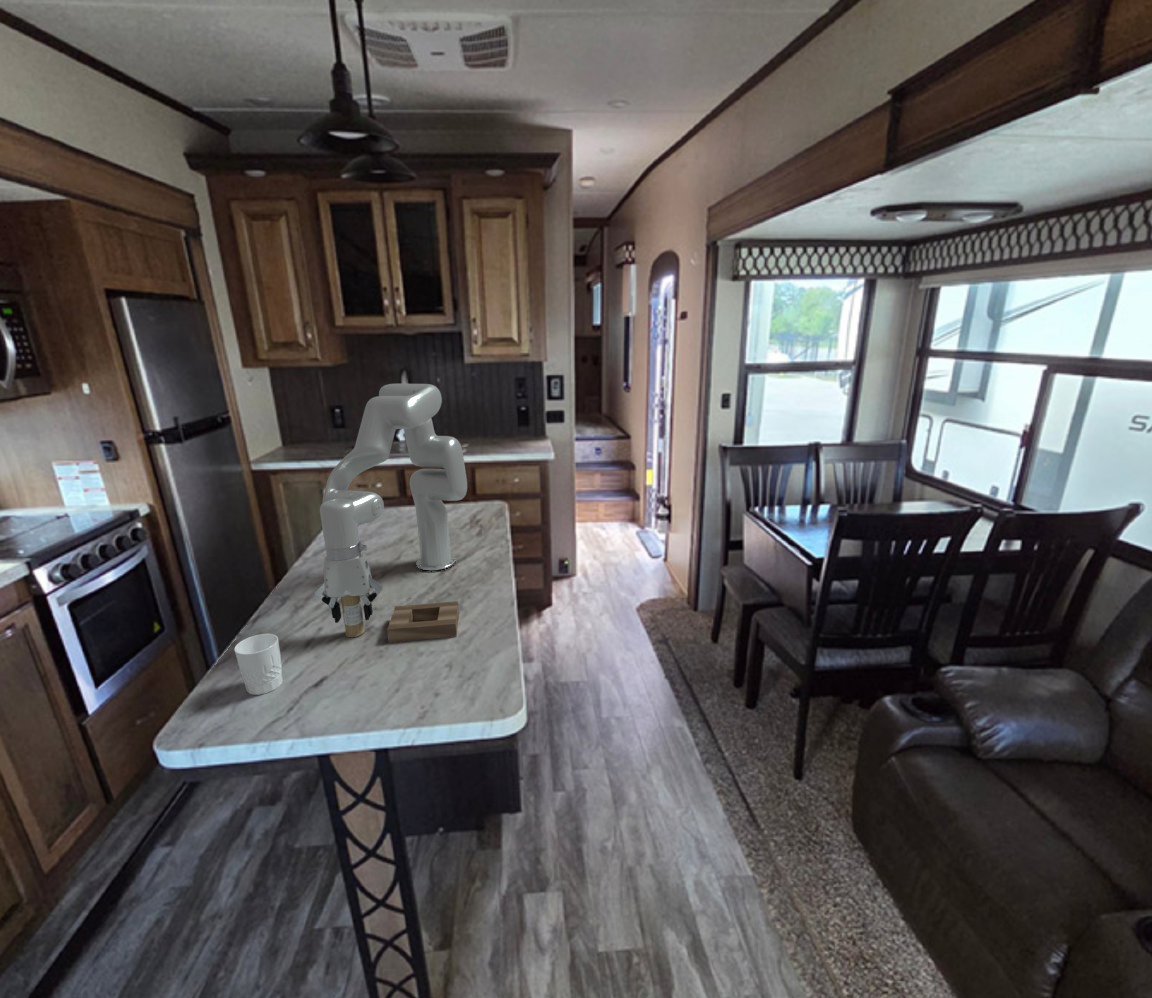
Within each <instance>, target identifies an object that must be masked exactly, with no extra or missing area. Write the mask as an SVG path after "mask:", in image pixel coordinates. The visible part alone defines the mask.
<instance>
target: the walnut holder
mask: <svg viewBox="0 0 1152 998" xmlns="http://www.w3.org/2000/svg"><path fill="white" fill-rule="evenodd" d="M459 607H460V606H459V601H458V600H456V601H443V602H435V603H434V602H432V603H431V602H430V603H420V604H409V605H407V604H406V605H395V607H394V610H393V612H392V614H391V619H390V621H389V624H388V625H387V629H386V631H387V640H388V643H398V642H399V643H400V642H410V641H420V640H431V639H441V638H442V639H443V638H445V639H446V638H451V637H452V638H453V637H455V638H456V637H457V636H458V628H459V627H458V626H459V619H460V618H459V617H460V608H459Z"/></svg>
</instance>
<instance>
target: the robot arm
mask: <svg viewBox="0 0 1152 998" xmlns="http://www.w3.org/2000/svg"><path fill="white" fill-rule="evenodd" d="M442 400H443V398H442V393H441V391H440V389H439V388H438V387H437V386H436V385H433V384H429V383H389V384H384V385H383V386H382V387H381V388H380V389H379V392H378V395H377V396H373V397H372V398H370V399H369V400H368V401H367V402H366V405H365V407H364V411H363V415H362V418H361V422H360V427H359V430H358V433H357V437H356V441H355V445H354V447H353V448H352V450H351V451H349V453H347V454H346V456H344V457H343V458H342V459H341V460H340V461H339V463H338V464H336V466H335V467H334V468H333V469H332V471H331V472H330V474H329V476H328V478H327V481H326V485H325V489H324V492H323V497H322V502H321V505H320V507H319V515H320V520H321V528H322V533H323V541H324V547H325V553H326V556H325V557H324V561H323V583H322V584H321V585H320V587H318V589H316V590H315V592H314V596H315V597H317V598H318V599H319V600H321V601H322V602H323V603H324V604H326V605H327V606H328V608H329V609H330V610H331V611H330V612H331V617H332V619H334V623H335V624H337V623H340V620H341V618H342V611H341V610H342V609H341V604H340V603H339V601H338V599H339V598H340V599H341V597H344V596H346V595H343V594H344V592H345V591H346V590H347V591H349V592H350V595H351V596H360V599H361V600H362V601H363V602H364V604H363V612H364V613H363V616H364V620H365V621H369V620H370V618H371V616H373V603H372V602H374V600H375V599H376V598H377V597H378V595H380V594H381V593H382V591H383V590H384V586H383V584H380V583H379V582H378V581H376V579H373V578H372V573H371V572H372V571H371V568H370V565H369V562H368V558H367V557H368V556H366V553H365V552H364V551H367V550H368V545H367V544H362V542H361V540H360V535H359V534H360V533H359V526H360V525H365V524H370V523H372V522H374V521H376V520H377V519H379V518H380V516H381V515H382V514H383V512H384V509H385V503H384V500H383V497H381V495H379V494H377V493H376V492H373V491H366V490H365V491H364V490H350V489H349V486H350V484H351V483H352V482H353V480H354V479H355V478H356V477H357V476H358V475H360V474H361V473H363V472H365V471H366V470H368V469H371V468H373V467H376V466H378V465H380V464H382V463H384V462H386V461H387V460H388V459H389V458H390V454H391V450H392V448H393V447H392V445H393V442H394V438H395V437H394V436H395V433H396V432H397V431H396V430H400V429H401V430H403V432H404V437H405V442H406V446H407V452H408V456H409V460H410V462H411V463H412V465H413V466H416V467H421V468H422V469H421V468H420V469H418V470H415V471H414V472H412V474H411V476H410V478H409V488H410V489H409V490H410V492H411V496H412V498H413V503H414V507H415V508H414V509H415V515H416V517H415V518H416V524H417V525H416V526H417V534H418V543H419V544H418V545H419V554H420V558H419V559H417V560H416V563H415V565H417V566H416V568H417V567H419V568H420V569H423V570H438V569H443V568H446V567H448V566H450V565H452V564H453V563H454V562H455V561H456V562H457V558H456V557H455V558H451V555H452V554H451V544H450V543H451V540H450V528H449V519H448V518H449V517H448V511H447V507H446V505H445V504H444V502H443V501H454V502H455V501H457V502H458V501H461V500H463V499H464V498H465V497H466V495H467V492H468V479H467V474H466V473H467V472H466V466H465V458H464V451H463V448H462V445H461V443H460V441H459V440H458V439H457V438H455V437H454V436H449V435H437V434H436V432H435V429H434V423H433V419H432V418H433V417H434V416H436V415H437V414H438V412H439V410H440V409H441V406H442V403H443V401H442ZM348 489H349V490H348ZM451 559H456V560H454V561H453V560H451ZM450 563H451V564H450ZM420 565H421V566H420ZM420 569H419V570H420ZM370 588H373V589H374V590H373V591H372V593H370ZM347 596H348V595H347Z"/></svg>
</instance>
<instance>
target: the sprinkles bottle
mask: <svg viewBox="0 0 1152 998" xmlns="http://www.w3.org/2000/svg"><path fill="white" fill-rule="evenodd" d="M343 595H346V596H344V597H340V600H341V601H340V602H341V610H342V611H341V612H342V619H343V623H344V628H345V636H346V637H348V638H354V637H355V638H356V637H359V636H362V635H363V634H364V633H365V631H366V629H365V627H364V626H365V625H364V617H363V616H364V614H363V608H362V603H361V597H360V596H351V595H350V592H349V591H347V590H346V591H345V592H344V594H343ZM347 595H348V596H347Z"/></svg>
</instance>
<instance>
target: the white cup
mask: <svg viewBox="0 0 1152 998" xmlns="http://www.w3.org/2000/svg"><path fill="white" fill-rule="evenodd" d="M233 650H234V654H235V657H236V661H237V664H238V668H239V672H240V675H241V677H242V680H243V683H244V687H245V690H246V692H247V693H248V694H249V695H254V696H258V695H264V694H267V693H271V692H273V691H275V690H276V689H277V688H279V687H280V686H281V685H282V683H283V682H284V681H283V680H284V679H283V672H282V670H283V668H282V667H283V665H282V656H281V650H280V642H279V637H278V636H277V635H275V634H274V633H262V634H256V635H255V634H254V635H252V636H249V637H246V638H245V639H243V640H240V641H239V642H238V643H237V644H236V645H235V647H234V649H233Z"/></svg>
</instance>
